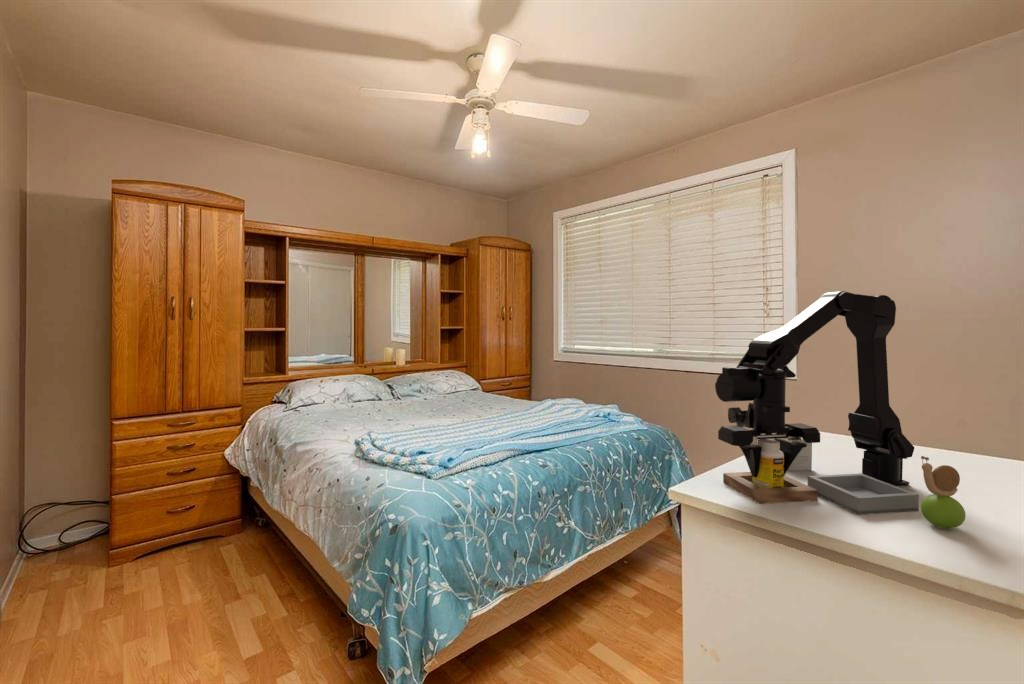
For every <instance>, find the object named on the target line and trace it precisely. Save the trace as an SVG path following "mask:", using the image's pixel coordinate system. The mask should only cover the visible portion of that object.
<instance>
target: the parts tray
mask: <svg viewBox="0 0 1024 684" xmlns="http://www.w3.org/2000/svg"><path fill="white" fill-rule="evenodd" d="M807 485H808V486H810V487H812V488H814V489H816V490H818V497H820V498H822V499H824V500H827V501H828V502H830V503H832V504H835V505H836V506H839V507H841V508H843V509H845V510H847V511H849V512H852V513H854V514H856V515H857V516H858V515H859V516H861V515H863V516H864V515H876V514H891V513H892V514H893V513H894V514H895V513H909V512H919V506H920V505H919V502H920V501H919V500H920V494H918V493H915V492H913V491H910V490H907V489H905V488H902V487H900V486H898V485H891V484H889V483H886V482H883V481H881V480H878V479H875V478H872V477H870V476H867V475H864V474H862V472H860V473H842V474H840V473H839V474H827V475H826V474H825V475H808V476H807Z"/></svg>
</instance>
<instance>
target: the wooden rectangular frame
mask: <svg viewBox="0 0 1024 684" xmlns="http://www.w3.org/2000/svg"><path fill="white" fill-rule="evenodd" d="M722 474H723V483H724V484H725V483H726V484H725V485H727V486H728V487H730V486H731V488H732V489H734V490H735V489H736V490H735V491H737V492H739V493H740V492H741V493H740V494H742V495H743V496H746V497H748V498H749V499H750V500H752V501H754V502H756V503H758V504H760V505H762V504H779V503H780V504H781V503H795V502H796V503H798V502H799V503H800V502H809V501H810V502H814V501H817V502H818V500H819V498H818V497H819V496H818V490H816V489H814V488H812V487H810V486H808V484H805V483H804V482H801V481H799V480H797V479H795V478H792V477H790V476H788V475H786V474H785V475H784V487H783V488H767V489H762V488H761V487H759V486H757V485H755V484H753V476H752V474H751V472H750V471H739V472H724V473H722Z"/></svg>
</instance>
